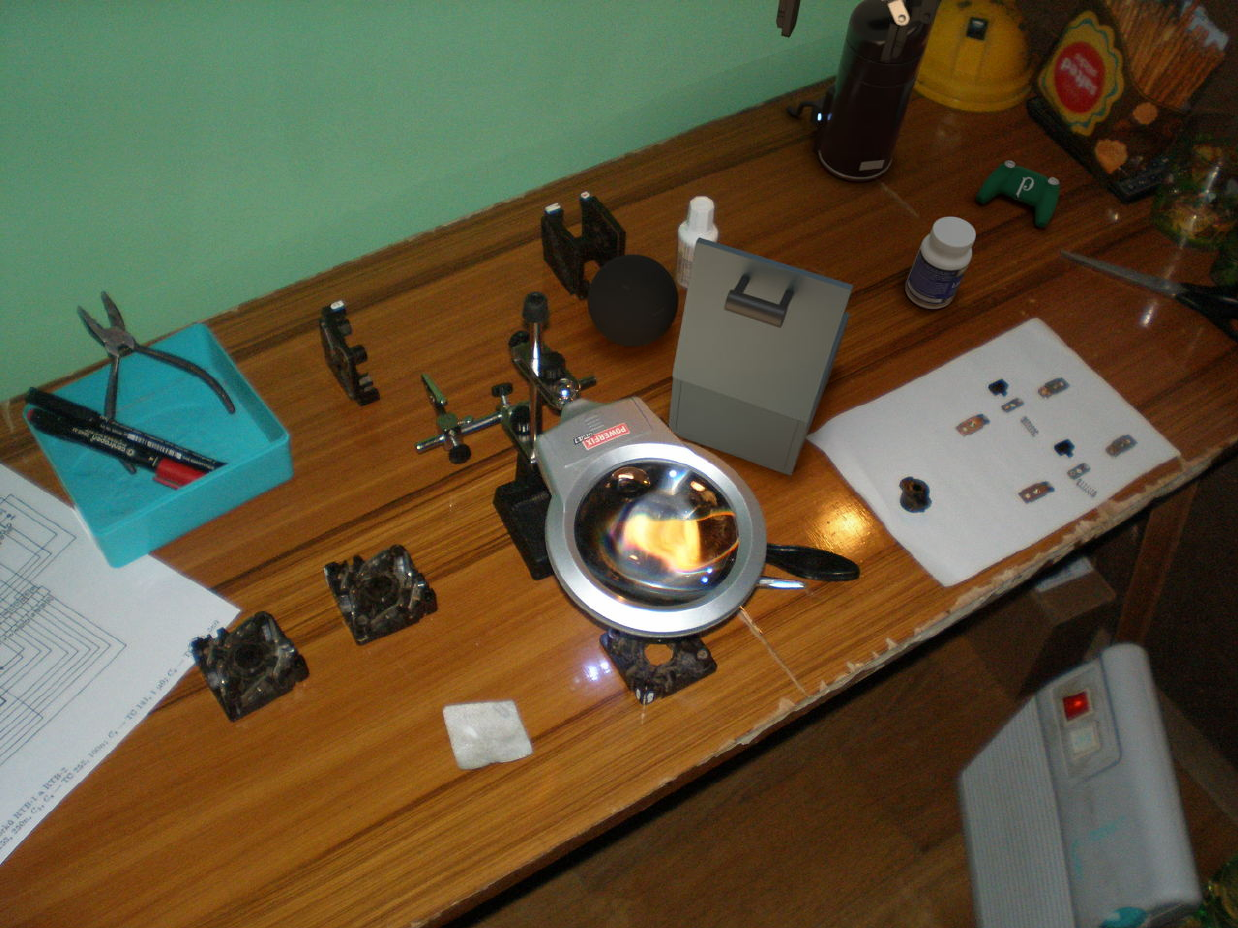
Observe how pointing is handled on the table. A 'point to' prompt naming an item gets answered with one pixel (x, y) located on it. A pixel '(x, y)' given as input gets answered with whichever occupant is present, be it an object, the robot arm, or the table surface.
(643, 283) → the black ball
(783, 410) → the lid
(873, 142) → the robot arm
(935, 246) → the pill bottle
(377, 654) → the table surface
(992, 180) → the gaming controller
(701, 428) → the grey box
